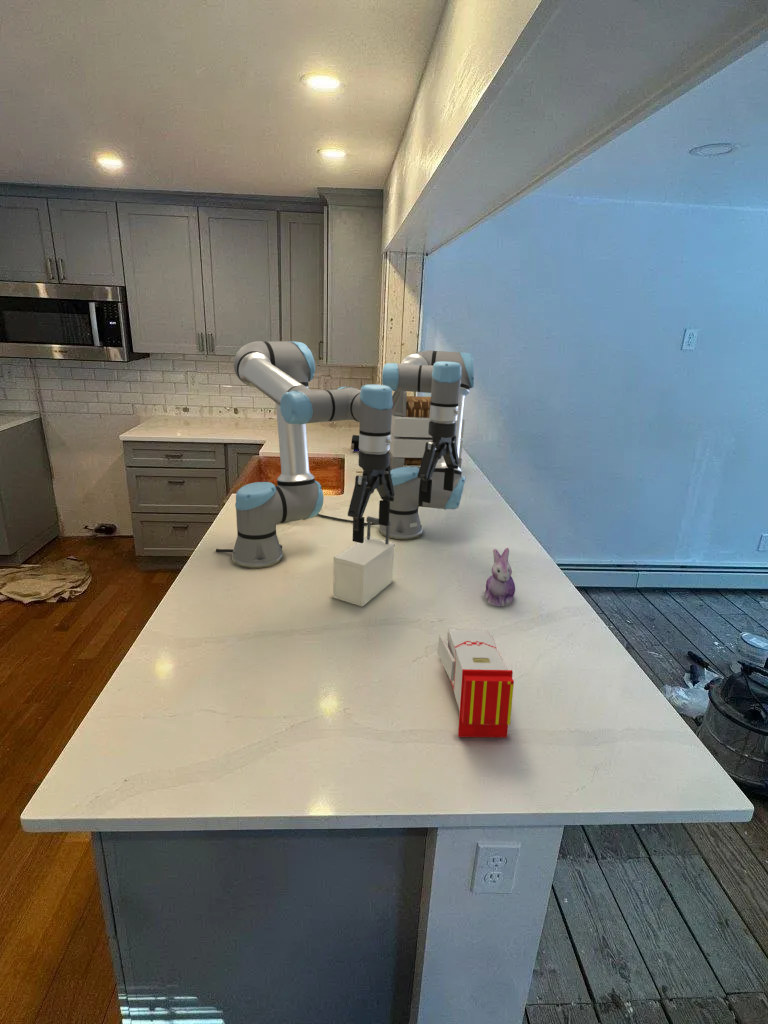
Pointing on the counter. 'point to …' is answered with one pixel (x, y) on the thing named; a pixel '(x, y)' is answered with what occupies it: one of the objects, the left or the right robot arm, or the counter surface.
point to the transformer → (411, 430)
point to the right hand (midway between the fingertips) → (437, 496)
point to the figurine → (500, 581)
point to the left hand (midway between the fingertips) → (371, 533)
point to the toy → (478, 682)
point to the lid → (366, 549)
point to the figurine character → (355, 443)
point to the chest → (362, 580)
